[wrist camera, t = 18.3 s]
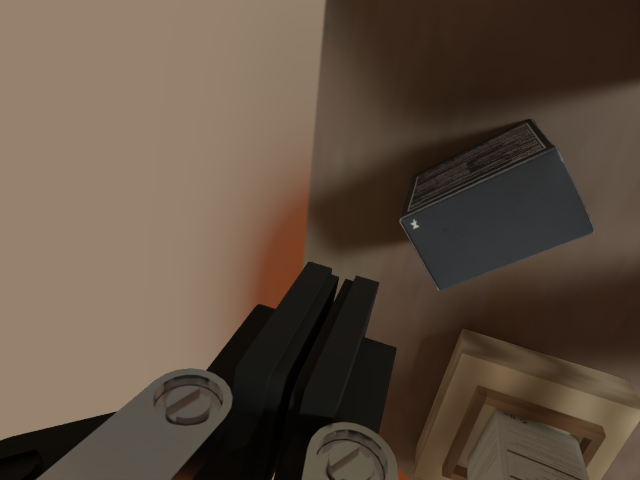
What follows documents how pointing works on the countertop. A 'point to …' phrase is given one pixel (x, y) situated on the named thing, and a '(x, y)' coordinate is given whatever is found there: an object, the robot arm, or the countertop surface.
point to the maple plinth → (522, 405)
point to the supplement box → (524, 451)
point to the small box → (493, 207)
